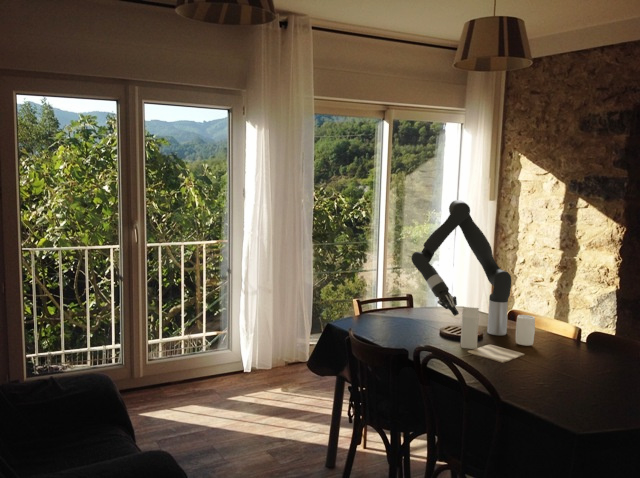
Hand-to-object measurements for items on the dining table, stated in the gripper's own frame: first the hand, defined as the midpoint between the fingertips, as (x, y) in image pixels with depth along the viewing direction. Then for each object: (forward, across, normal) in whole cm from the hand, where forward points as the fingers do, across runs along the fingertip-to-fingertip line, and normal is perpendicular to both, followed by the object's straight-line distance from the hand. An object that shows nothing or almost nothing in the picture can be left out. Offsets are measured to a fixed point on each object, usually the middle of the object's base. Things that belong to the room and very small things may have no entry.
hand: (456, 314), depth 270 cm
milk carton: (+15, 0, +5) cm, 16 cm away
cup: (+26, +24, -6) cm, 36 cm away
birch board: (+25, +1, -6) cm, 26 cm away
